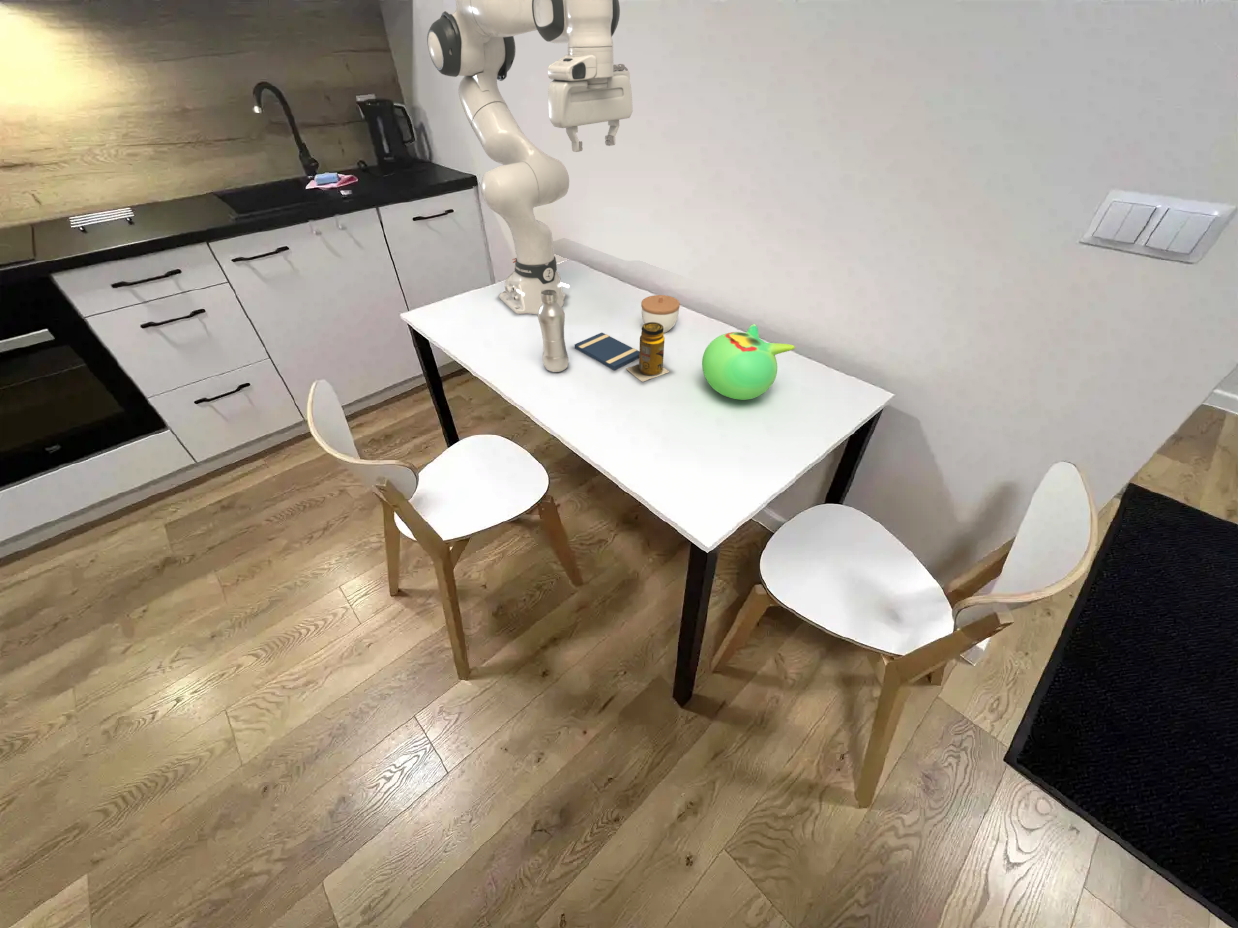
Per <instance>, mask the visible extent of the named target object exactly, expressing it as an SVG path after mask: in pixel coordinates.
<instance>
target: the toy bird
mask: <svg viewBox="0 0 1238 928" xmlns="http://www.w3.org/2000/svg"><path fill="white" fill-rule="evenodd" d="M795 349H796V346H795V345H793V344H790V343H777V342H765V341H764V340H763V339H761V338H760V334H759V329H758V326H757V324H756V323H752V324H750V326H749V328H748V329H747V331H745V332H741V331H732V332H731V331H730V332H726V333H722V334H720V335H719V336H717V337H715V338H714V339H713V340H711V341H710V343H708V345H707V346H706V348H705V350H704V352H703V354H702V358H701V359H702V360H701V367H702V373H703V375H704V378H705V380H706V382H707V383H708V384H709V386H710V387H711V388H712V390H714V391H716V392H717V393H718V394H720V395H722V396H724V397H727V398H729V399H733V400H739V401H740V400H741V401H742V400H743V401H745V400H751V399H755V398H758V397H760V396H762V395H763V394H765V393H766V392H768V390H769V389H770V388H771V387H772V385H773V384H774V382H775V381H776V378H777V375H778V359H777V357H776V356H777V355H780V354H783V353H787V352H790V351H793V350H795Z"/></svg>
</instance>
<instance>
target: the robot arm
mask: <svg viewBox="0 0 1238 928" xmlns="http://www.w3.org/2000/svg"><path fill="white" fill-rule="evenodd" d="M455 6H456V7H455V8H456V10H455V12H453V13H449V12H448V11H446V10H445V11H442V13H441V15H440V17H439V18H438V19H437V20H435V21H434V22H432V23H431V25H430V27H429V29H428V31H427V35H426V42H427V44H426V45H427V49H428V53H429V57H430V59H431V61H432V64H433V65H434V67H435V69H436V70H437V71H438V72H439V73H440V74H441V75H443V76H445V77H452V78H457V77H459V76H460V77H462V78H461V80H460V82H459V85H458V97H459V100H460V103H461V106H462V109H463V112H464V114H465V116H466V118H467V120H468V123H469V125H470V127H471V129H472V131H473V133H474V135H475V136H476V138H477V140H478V142H479V144H480V146H481V147H482V149H483V150H484V153H485V154H486V156H487V157H488V158H490V160H492V161H493V162H496V163H498V164H501V165H498V166H496V167H494V168H492V169H489V170H488V171H485V172H484V174H483V175H482V178H481V183H480V190H481V195H482V198H483V200H484V203H485V204H486V205H487V207H488V208H489V209H490V210H491V211H493V212H494V213H496V214H497V215H499V216H500V217H501V218H502V219H503V220H504V222H505V223H506V224H507V225H508V228H509V230H510V233H511V236H512V241H513V245H514V251H515V256H516V257H515V258H512V263H513V264H514V270H513V271H512V272H511V274H509V275H508V276H507V277H506V278H505V280H504V288H505V289H504V290H503V291H502V292H500V294H499V295H498V297H499V299H500V300H501V301H502V302H503V303H504V304H505V305H506V306H507V307H508V308H509V309H510V310H511V311H512V312H514V314H516V315H523V314H529V315H538V310H539V308H540V306H541V305H542V303H543V302H542V301H541V292H542V291H543V290H547V289H551V290H555V291H556V293H557V298H558V301H557V303H558V304H559V305H560V306H561V307H562V308H563V306H564V304H565V301H564V300H565V299H566V296H567V295H566V292H563V287H564V288H567V289H569V288H570V284H567V283H564V282H561V276H560V273H559V272H558V271H557V270H558V267H557V265H558V262H557V259H556V256H555V251H554V242H553V241H554V240H553V233H552V230H551V228H550V227H549V226H548V225H547V224H546V223H545V222H542V221H541V220H538V219H537V218H536V216H535V213H534V208H537V207H541V206H545V205H549V204H550V205H551V204H553V203H555V202H557V201H558V200H560V199H563V198H564V197H565V196H567V194H568V191H569V188H570V176H569V172H568V170H567V168H566V166H565V164H564V163H563V162H562V161H561V160H559V159H558V158H555V157H553V156H551V155H548V154H546V153H545V152H544V151H542V150H541V149H540V148H539V147H537V145H535V143H533V142H532V141H531V140H530V139H529V138H528V137H527V136H526V135H525V134H524V131H523V130H522V129H521V128H520V127H521V126H520V125H519V124H518V123H517V121H516V118H515V117H514V115H513V113H512V111H511V110H510V108H509V106H508V104H507V102H506V101H505V99H504V97H503V96H502V94H501V92H500V90H499V87H498V81H499V82H502V81H505V79H506V78H507V77H508V72H509V71H510V70H511V69H512V66H513V63H514V61H515V57H516V42H515V37H514V36H518V35H523V34H526V33H531V32H534V31H537V33H538V34H539V35H540V37H541V38H542V39H543V40H544V41H546V42H549V43H552V44H567V54H565V55H564V56H562V57H561V58H560V59H558V60H556V61H554V62H553V63H551V64H549V66H548V67H547V76H548V78H549V80H552V81H551V82H550V83H549V85H548V90H547V105H548V115H549V121H550V123H551V125H552V127H555V128H558V129H565V132H566V135H567V136H568V139H569V140H570V142H571V151H572V152H574V153H580V152H582V151H583V140H582V141H581V140H579V137H578V135H577V133H579V132H578V131H579V128H578V127H579V126H586V125H587V126H588V125H594V124H601V123H605V122H607V125H608V126H609V128H608V131H607V134H606V135H604V140H605V141H604V144H605V146H607V147H611V146H615V145H616V136H617V134H618V130H619V128H620V120H627V119H630V118H631V116H632V113H633V94H632V83H631V81H630V80H631V78H630V77H631V73H630V71H629V69H628V68H627V66H625V64H624V63H619V64H614V42H613V36H614V34H615V32H616V30H617V28H618V25H619V21H620V15H621V7H620V1H619V0H455Z"/></svg>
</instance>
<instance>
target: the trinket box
mask: <svg viewBox="0 0 1238 928" xmlns="http://www.w3.org/2000/svg"><path fill="white" fill-rule="evenodd" d="M680 305H681V302H680V301H679V300H678V299H677V298H675V297H673V296H670V295H665V294H654V295H649V296H647V297H644V298H643V299H642V300H641V303H640V308H641V319H642V322H643V325H644V324H645V323H649V322H656V323H660V324H661V325H662V326H663V328H664V330H663V333H664V334H665V333H668V332H669V331H670V330H671V329H672V328H673V327H674V326H675V325H676V323H677V321H678V318H679V313H680V307H681V306H680Z"/></svg>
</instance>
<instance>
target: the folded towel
mask: <svg viewBox="0 0 1238 928" xmlns="http://www.w3.org/2000/svg"><path fill="white" fill-rule="evenodd" d="M574 349H575V350H577V351H579V352H580V353H583V354H584V355H585V356H588V357H589V358H591V359H593V360H595V361H596V362H598V363H600V364H602V365H603V366H605V367H607V368H609V369H611V370H613V371H617V370H618V369H620V368H622V367H625V366H627V365H629V364H630V363H633V362H635V361H637V360H639V350H638V349H637V348H635V347H631V346H630V345H628V344H626V343H624V342H621V341H620V340H618V339H616V338H614V337H612V336H610V335H609V334H607V333H604V332H600V333H597V334H595V335H592V336H591V337H588V338H586V339H584V340H581V341H578V342H577V343H574Z"/></svg>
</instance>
